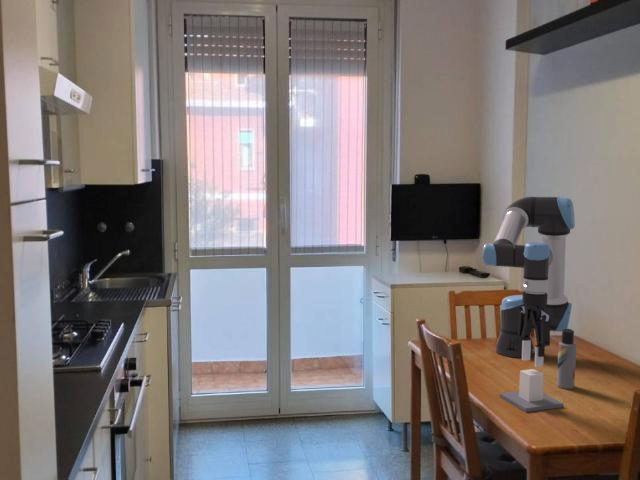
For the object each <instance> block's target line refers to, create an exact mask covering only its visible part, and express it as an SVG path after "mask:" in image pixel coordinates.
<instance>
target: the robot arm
mask: <svg viewBox="0 0 640 480" xmlns="http://www.w3.org/2000/svg"><path fill="white" fill-rule="evenodd" d="M501 220H502V221H501V222H502V223H501V225H500V228H499V230H498V232H497V234H496V237H495V239H494V241H493V242H490V243H489V242H488V243H485V244H484V245H483V247H482V254H481V255H482V259H481V260H482V263H483V265H485V266H491V267H492V266H493V267H504V268H508V267H509V268H520V269H523V276H522V277H523V283H522V289H523V292H522V294H515V295H509V296H506V297H504V298H502V300H501V307H500V332H499V335H498V338H497V340H496V341H497V342H496V343H495V347H494V349H495V353H497V354H498V355H501V356H506V357H509V358H521V361H530V360H531V357H532V356H534V367H536V368H539V367H544V357H545V350H546V349H545V347H549V346H550V345H551V332H554V333H555V332H560V333H562V330H564V329H569V323H570V318H571V314H572V313H571V312H572V307H573V306H572V305H573V304H572V303H571V302H569V298H568V296H567V295H565V282H566V281H565V279H566V278H565V273H566V272H565V271H566V245H567V244H566V241H567V240H566V238H567V237H568V236H569V235H570V234H571V230H573V229H575V225H576V224H575V208H574V204H573V200H572V199H571V198H568V197H560V196H526V197H522V198H520V199H517V200H515V201H513V202H512V203H510V205H508V206H507V207H506V208H505V209H504V211H503V213H502V217H501ZM525 228H537V233H538V235H540V236H541V242H527V243H525V244H523V245H522V244H518V243H519V240H520V237H521V234H522V232H523V230H524V229H525ZM532 330H534V333H535V339H536V344H535V345H534V343H533V340H532V337H531V333H532Z"/></svg>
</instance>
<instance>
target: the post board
mask: <svg viewBox="0 0 640 480" xmlns="http://www.w3.org/2000/svg"><path fill="white" fill-rule="evenodd" d="M499 398H501V399H503V400H504V401H506V402H507V403H509V404H511V405H512V406H515V408H518V409H519V410H521V411H523V412H524V413H527V412H536V411H544V410H551V409H552V410H553V409H559V408H564V402H561V401H560V400H558V399H556V398H554V397H552V396H550V395H548V394H546V393H544V392H543V400H540V401H532V402H528V401H526V400H525V399H523V398H521V397H519V390H517V391H508V392H499Z"/></svg>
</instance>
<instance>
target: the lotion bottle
mask: <svg viewBox="0 0 640 480" xmlns="http://www.w3.org/2000/svg"><path fill="white" fill-rule="evenodd" d="M574 338H575V330H573V329H571V328H567V329H564V330H562V332H561V341H560V342H558V346H557V347H558V352H557V369H556V370H557V372H556V386H557V387H558V388H560V389H565V390H572V389H574V388H575V384H576V383H575V382H576V381H575V380H576V362H577V361H576V360H577V344H576V343H574V342H575V339H574Z"/></svg>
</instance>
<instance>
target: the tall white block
mask: <svg viewBox="0 0 640 480" xmlns="http://www.w3.org/2000/svg"><path fill="white" fill-rule="evenodd" d="M544 374H545V373H542V372H540V371H538V370H536V369H535V368H533V369H531V368H530V369H522V370H520V371H519V384H518V385H519V389H518V391H519V397H521V398H523V399H525V400H526V401H528V402H532V401H540V400H543V393H544V382H545V381H544V380H545V379H544V378H545V377H544V376H545V375H544Z"/></svg>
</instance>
